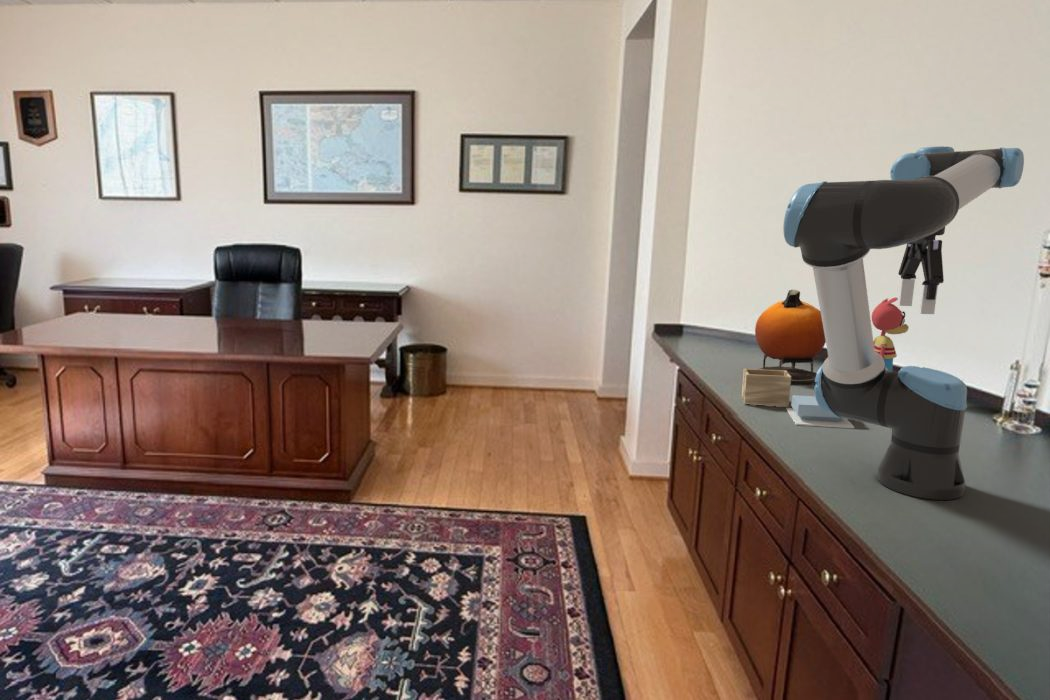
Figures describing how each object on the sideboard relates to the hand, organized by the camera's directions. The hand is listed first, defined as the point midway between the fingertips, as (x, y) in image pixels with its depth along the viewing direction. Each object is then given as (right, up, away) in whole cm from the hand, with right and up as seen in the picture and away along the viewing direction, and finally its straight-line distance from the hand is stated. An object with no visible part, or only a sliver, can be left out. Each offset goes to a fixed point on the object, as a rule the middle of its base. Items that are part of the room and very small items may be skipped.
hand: (915, 309), depth 150 cm
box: (-22, -25, +36) cm, 49 cm away
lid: (-13, -26, +21) cm, 36 cm away
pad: (-13, -28, +21) cm, 37 cm away
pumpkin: (-3, -19, +65) cm, 68 cm away
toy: (+16, -23, +43) cm, 52 cm away
